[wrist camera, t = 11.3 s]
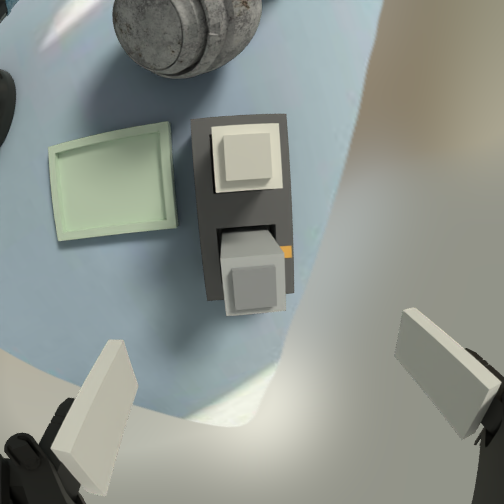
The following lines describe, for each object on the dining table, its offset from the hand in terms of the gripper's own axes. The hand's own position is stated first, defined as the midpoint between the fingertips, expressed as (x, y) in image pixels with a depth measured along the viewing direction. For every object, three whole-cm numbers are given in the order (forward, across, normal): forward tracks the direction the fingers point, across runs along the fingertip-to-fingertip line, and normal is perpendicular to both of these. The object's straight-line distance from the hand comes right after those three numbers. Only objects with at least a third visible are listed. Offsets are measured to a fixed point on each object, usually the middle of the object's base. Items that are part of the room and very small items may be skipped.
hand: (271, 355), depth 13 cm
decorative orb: (+24, -4, +25) cm, 35 cm away
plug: (+21, 0, 0) cm, 21 cm away
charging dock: (+23, 0, +4) cm, 24 cm away
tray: (+23, -15, +8) cm, 29 cm away
